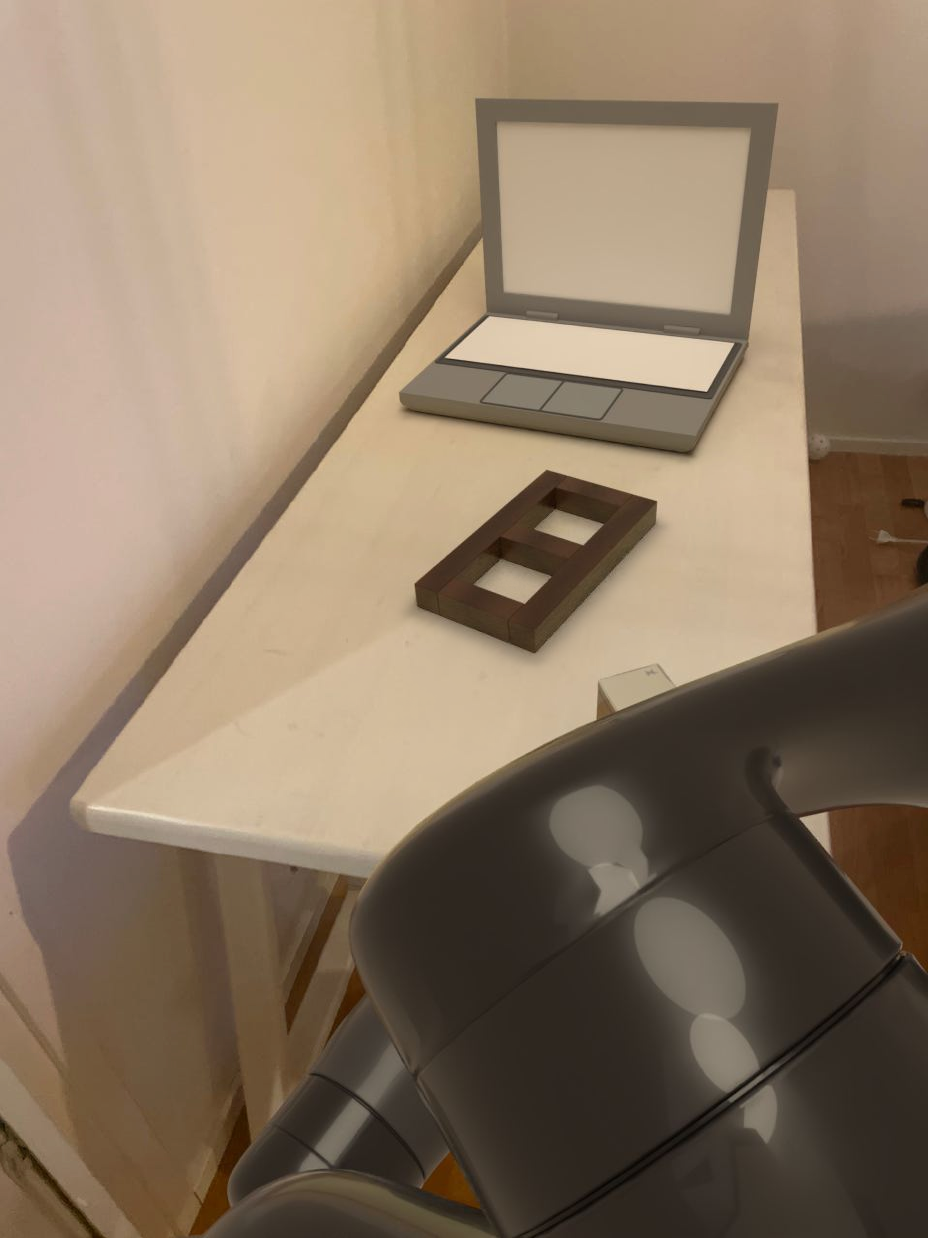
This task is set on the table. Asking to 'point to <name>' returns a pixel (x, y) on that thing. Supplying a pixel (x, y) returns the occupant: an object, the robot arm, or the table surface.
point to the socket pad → (536, 558)
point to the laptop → (609, 267)
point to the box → (631, 688)
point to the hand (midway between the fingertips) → (589, 818)
